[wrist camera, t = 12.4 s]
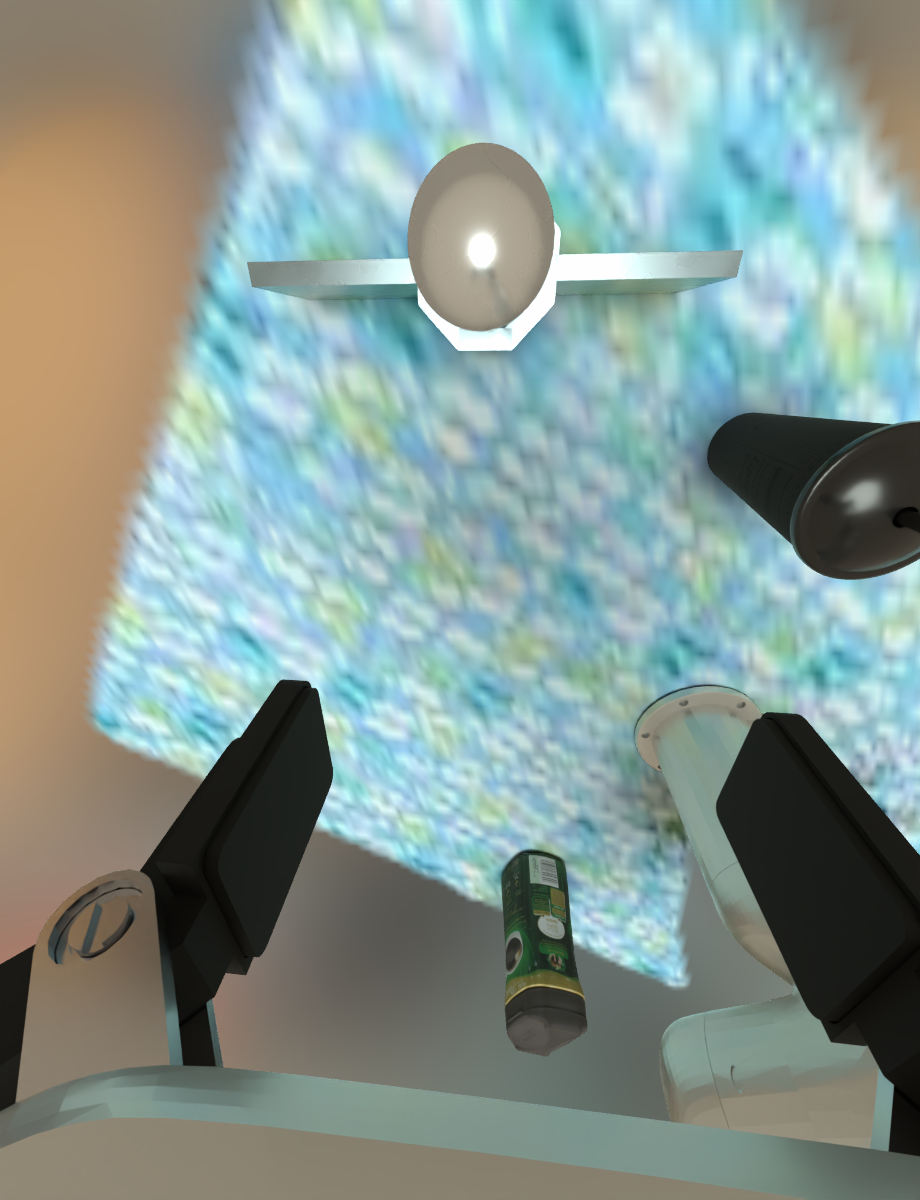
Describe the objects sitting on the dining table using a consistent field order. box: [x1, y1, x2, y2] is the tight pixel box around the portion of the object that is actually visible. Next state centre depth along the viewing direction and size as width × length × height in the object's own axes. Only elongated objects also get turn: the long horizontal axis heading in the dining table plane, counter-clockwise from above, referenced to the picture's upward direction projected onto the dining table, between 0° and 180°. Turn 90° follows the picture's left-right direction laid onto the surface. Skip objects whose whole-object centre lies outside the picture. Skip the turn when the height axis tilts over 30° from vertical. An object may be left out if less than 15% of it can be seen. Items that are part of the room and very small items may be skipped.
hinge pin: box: [408, 143, 555, 332], centre depth 22 cm, size 5×5×15 cm
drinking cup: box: [708, 413, 920, 580], centre depth 24 cm, size 8×8×20 cm
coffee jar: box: [502, 853, 587, 1056], centre depth 54 cm, size 10×8×19 cm
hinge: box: [247, 221, 743, 351], centre depth 25 cm, size 24×7×8 cm, turn 90°
